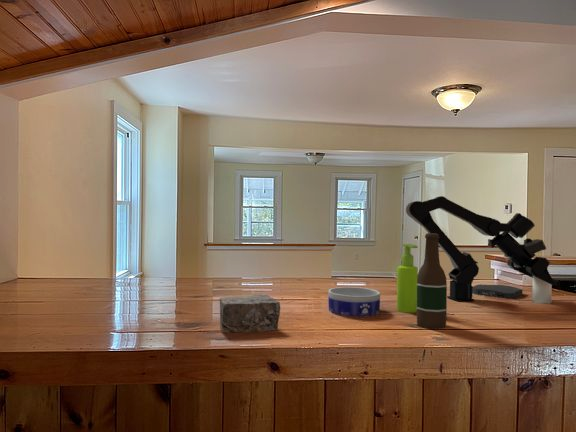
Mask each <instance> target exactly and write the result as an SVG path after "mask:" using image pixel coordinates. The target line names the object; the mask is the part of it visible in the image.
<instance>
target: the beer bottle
mask: <svg viewBox="0 0 576 432" xmlns="http://www.w3.org/2000/svg"><path fill="white" fill-rule="evenodd" d="M424 238H425V247H424V248H425V249H424V260H423V264H422V266H421V267H420V268H419V269H418V276H417V312H416V325H417V327H420V328H424V329H427V330H441V329H446V327H447V296H448V292H447V290H448V289H447V288H448V287H447V285H448V284H447V283H448V282H447V277H446V273H445V270H444V269H443V267H442V266H441V263H440V262H441V261H440V250H439V248H440V246H439V245H438V239H439V234H437V233H428V232H426V233H425V235H424Z"/></svg>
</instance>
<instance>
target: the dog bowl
mask: <svg viewBox="0 0 576 432" xmlns="http://www.w3.org/2000/svg"><path fill="white" fill-rule="evenodd" d="M327 293H328V311H329V312H330V311H331V312H332V314H334V313H335V315H337V314H339V315H338V316H341V315H345V316H344V317H349V316H359V317H358V318H365V317H364V316H369V317H374V316H377V315H379V314H380V310H381V309H380V308H381V307H380V306H381V293H380V291H379V290H376V289H373V288H367V287H360V286H359V287H358V286H342V287H338V286H337V287H333V288H330V289H328V292H327ZM331 312H330V313H331ZM378 313H379V314H378ZM376 314H377V315H376ZM373 315H374V316H373ZM360 316H361V317H360ZM362 316H363V317H362Z"/></svg>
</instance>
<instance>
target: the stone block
mask: <svg viewBox="0 0 576 432" xmlns="http://www.w3.org/2000/svg"><path fill="white" fill-rule="evenodd" d="M280 315H281V303H280V301H278V300H276V299H275V298H274V297H271V296H270V295H268V294H266V293H258V294H253V295H244V296H243V295H242V296H229V297H228V296H227V297H220V298H219V326H220V327H219V329H220V332H221V333H250V332H251V331H252V332H259V331H260V333H261V331H263V332H271V330H275V331H278V328H279V319H280Z"/></svg>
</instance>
